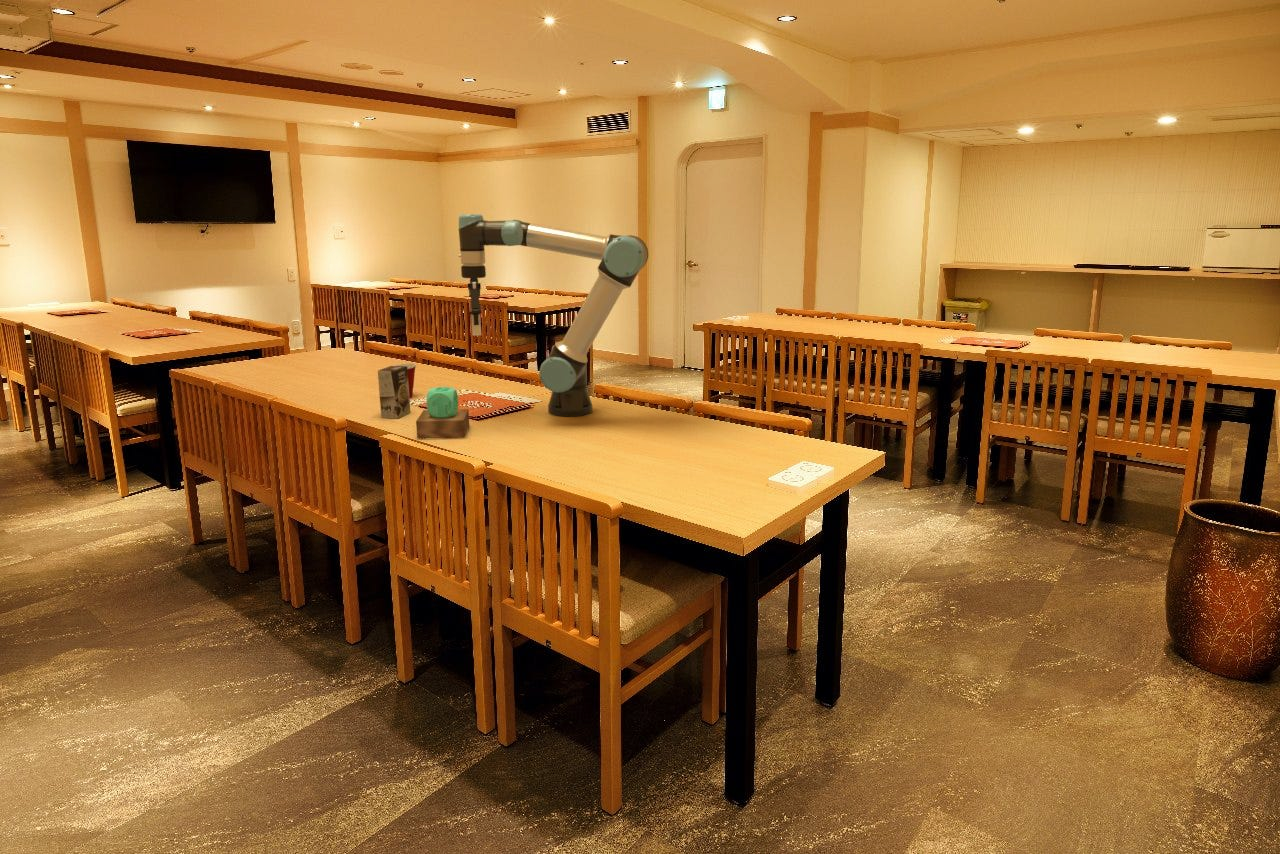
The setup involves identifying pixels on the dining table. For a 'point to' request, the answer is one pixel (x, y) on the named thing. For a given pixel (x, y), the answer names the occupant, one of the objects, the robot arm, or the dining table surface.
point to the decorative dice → (442, 402)
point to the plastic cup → (409, 375)
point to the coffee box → (394, 391)
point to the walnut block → (443, 425)
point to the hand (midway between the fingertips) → (476, 332)
